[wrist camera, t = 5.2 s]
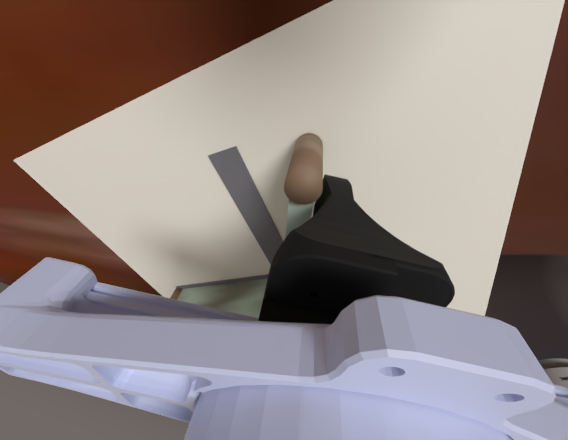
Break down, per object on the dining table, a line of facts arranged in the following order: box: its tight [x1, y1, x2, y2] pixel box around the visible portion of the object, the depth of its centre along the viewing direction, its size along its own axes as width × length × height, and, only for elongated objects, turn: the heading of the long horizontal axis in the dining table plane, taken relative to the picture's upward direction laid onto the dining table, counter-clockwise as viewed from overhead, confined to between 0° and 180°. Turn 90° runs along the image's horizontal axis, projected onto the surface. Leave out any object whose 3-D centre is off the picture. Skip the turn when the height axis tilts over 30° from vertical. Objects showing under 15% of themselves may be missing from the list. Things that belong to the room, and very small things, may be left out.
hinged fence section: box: [284, 133, 323, 238], centre depth 13 cm, size 11×1×4 cm, turn 176°
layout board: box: [13, 0, 565, 316], centre depth 17 cm, size 24×28×1 cm
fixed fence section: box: [170, 278, 268, 318], centre depth 19 cm, size 13×2×5 cm, turn 110°
